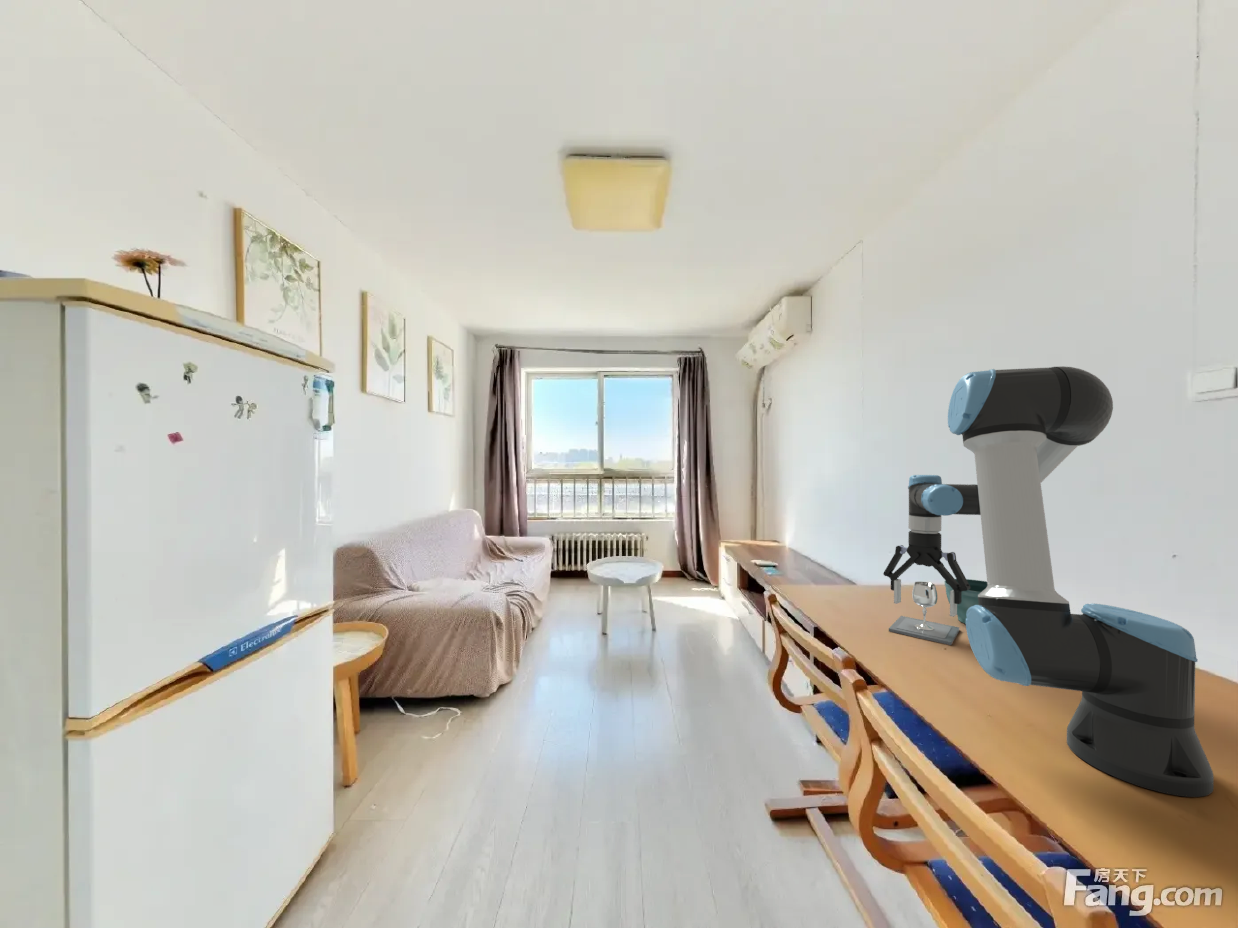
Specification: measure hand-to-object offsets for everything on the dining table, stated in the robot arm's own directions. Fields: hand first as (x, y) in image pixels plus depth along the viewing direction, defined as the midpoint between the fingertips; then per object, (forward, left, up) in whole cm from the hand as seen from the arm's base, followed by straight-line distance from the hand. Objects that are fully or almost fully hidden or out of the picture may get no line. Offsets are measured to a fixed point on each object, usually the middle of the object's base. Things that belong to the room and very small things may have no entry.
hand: (924, 608), depth 127 cm
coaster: (0, 0, -6) cm, 6 cm away
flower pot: (+19, -7, -6) cm, 21 cm away
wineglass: (0, 0, -5) cm, 5 cm away
